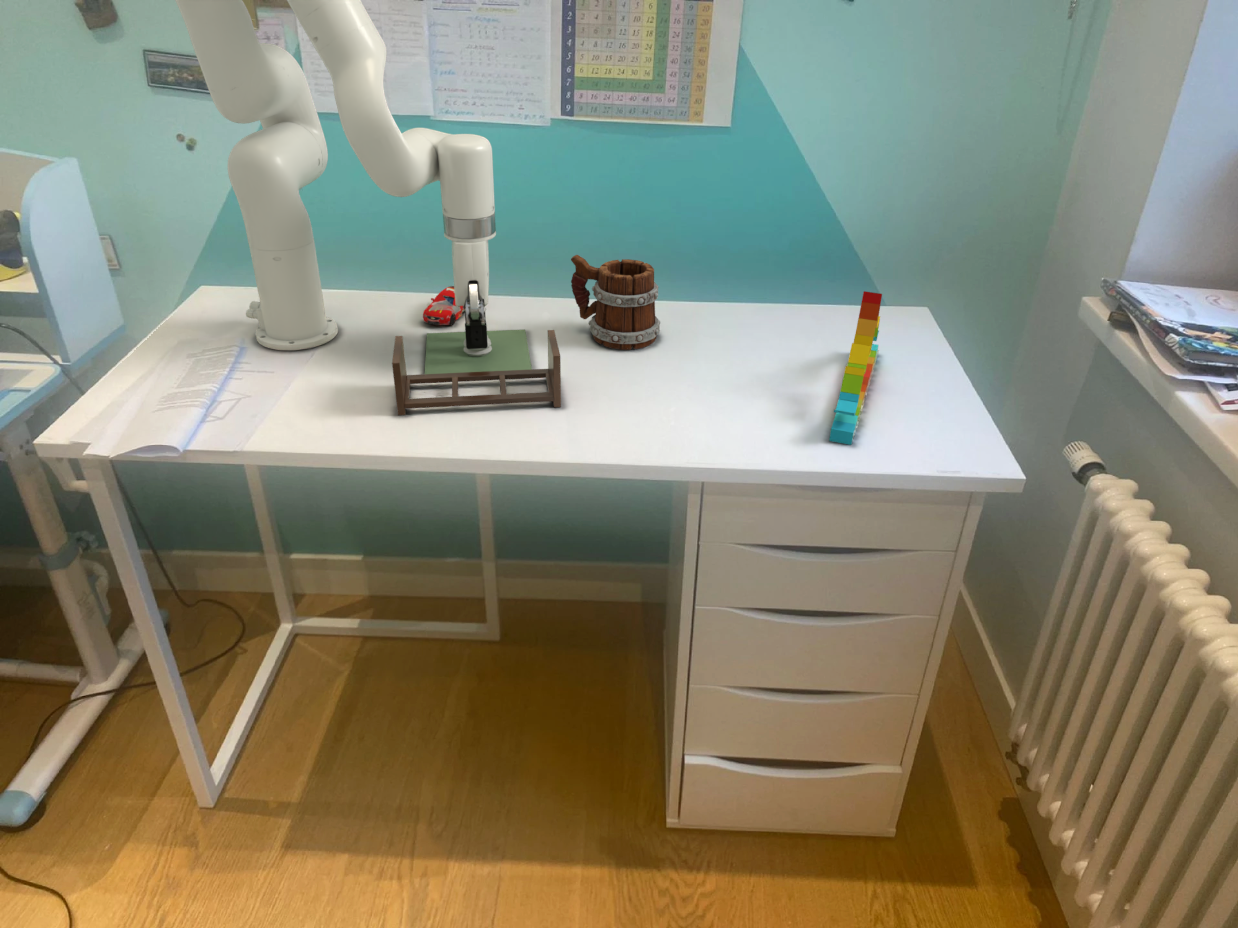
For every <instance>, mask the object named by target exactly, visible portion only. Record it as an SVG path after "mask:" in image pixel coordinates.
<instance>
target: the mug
mask: <svg viewBox="0 0 1238 928" xmlns="http://www.w3.org/2000/svg"><path fill="white" fill-rule="evenodd" d="M570 261H571V263H572V264H573V265H574V267H575V271H574V272H573V273H572V276H571V280H570V283H571V285H570V286H571V291H572V294H573V297H574V300H575V303H576V305H577V307H578V308H579V317H580V319H583V320H587V319H589V318H590V317H591V316H592V315H593V316H592V317H591V319H590V320H589V321H588V325H589V330H590V332H591V334H592V337H593V339H594V341H595V342H596V343H597V344H599V345H601V346H602V345H603V346H604V347H606V348H608V349H609V348H610V349H612V350H621V351H631V350H632V348H633V349H634V350H639V349H644V348H647V347H649V346H651V345H653V343H654V342H656V340H657V337H658V335H660V329H661V328H660V326H661V320H660V319H659V318H658V317H657V316H656V300H658V299H659V298H658V297H659V288H660V287H659V285H658V284H657V283H656V281H655V268H654V267H653V266H652V264H649V263H648V262H644V261H642V260H637V259H627V258H624V259H621V261H620V260H619V259H613V260H609V261H605V262H604V263H603V264H601V265H600V266H599V267H595V266H592V265H591V264H589V262H588V261H587V260H586V259H585V258H584V257H582V256H580V255H579V254H575V255H573V256H572V257H571V258H570ZM589 280H591V281H592V280H593V281H595V283H594V285H593V286H592V287H591V291H592V292H593V294H592V295H593V297H594V298H595V300H594V301H593V302H592V303H591V304H590V296H591V292H590V290H589V289H587V287H586V285H587V283H588V281H589ZM589 304H590V305H589Z"/></svg>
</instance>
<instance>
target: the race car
mask: <svg viewBox="0 0 1238 928" xmlns="http://www.w3.org/2000/svg"><path fill="white" fill-rule="evenodd" d="M430 300H431V303H430V304H429V305H427V307H426V308H425V309H424V310H423V312H422V320H423V321H424V323H426V324H429V325H434V326H454V324H455V322H456V321H457V320H458V319H459V318H461V317H462V316H463V315H465V309H464V306H460V307H457V306H456V304H455V290H454V285H450V286H449V285H448V286H447V287H445V288H444V289H442V290H441V291H439V293H437V295H436V296H435V297H434V298H433V297H431V298H430Z"/></svg>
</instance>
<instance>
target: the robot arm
mask: <svg viewBox="0 0 1238 928" xmlns="http://www.w3.org/2000/svg"><path fill="white" fill-rule="evenodd" d="M174 1H175V4H176V6H177V7H178V10H179V12H180V15H181V17H182V19H183V22H184V24H185V27H186V30H187V33H188V36H189V39H190V42H191V46H192V48H193V51H194V53H195V56H196V59H197V61H198V65H199V67H200V70H201V73H202V76H203V78H204V81H205V84H206V87H207V89H208V92H209V94H210V97H211V100H212V102H213V104H214V106H215V108H216V109H217V112H219V113H220V114H221V115H222V117H223V118H224V119H226V120H228V121H229V122H231V123H234V124H240V125H241V124H242V125H243V124H252V123H255V122H258V121H259V122H260V125H261V126H262V129H259V130H257V131H254V132H251V133H250V134H248V135H245V136H244V137H242V138H241V139H240V140H238V141H237V142H236V143H235V144H234V146H233V147H232V148H231V150H230V153H229V155H228V159H227V176H228V179H229V182H230V184H231V188H232V190H233V192H234V195H235V198H236V200H237V202H238V205H239V208H240V212H241V216H242V220H243V224H244V229H245V233H246V239H247V243H248V248H249V252H250V256H251V263H252V268H253V273H254V279H255V284H256V289H257V295H258V299H259V301H256V300H253V301H250V303H249V308H247V310H246V311H245V316H246V318H249V319H253V320H257V321H258V327H257V328H256V330H255V338H256V341H257V343H258V344H259V345H261V346H262V347H265V348H268V349H271V350H277V351H300V350H307V349H312V348H317V347H319V346H321V345H324V344H326V343H328V342H330V341H332V340H333V339H334V338H335V337H336V336H337V335H338V332H339V328H338V323H337V322H336V320H335V319H333V318H331V317H329V316H327V315H326V308H325V302H324V296H323V287H322V281H321V275H320V269H319V262H318V257H317V249H316V243H315V242H316V241H315V238H314V231H313V226H312V223H311V218H310V215H309V213H308V210H307V208H306V205H305V203H304V202H303V200H302V197H301V194H300V190H301V189H303V188H304V187H306V186H308V185H310V184H312V183H313V182H315V181H317V180H318V179H319V178H320V177H321V176H322V175H323V173H324V172H325V170H326V168H327V165H328V161H329V152H328V145H327V141H326V136H325V133H324V130H323V126H322V123H321V120H320V117H319V114H318V111H317V107H316V105H315V102H314V98H313V95H312V92H311V88H310V86H309V83H308V80H307V77H306V75H305V73H304V71H303V69H302V67H301V65H300V64H299V62H298V61H297V59H296V58H295V57H294V56H293V55H292V54H291V53H290V52H288V51H287V50H286V49H285V48H283V47H281V46H279V45H276V44H273V43H267V42H265V43H264V42H262V43H260V41H259V38H258V36H257V33H256V29H255V26H254V24H253V20H252V16H251V14H250V12H249V10H248V8H247V6H246V4H245V2H244V1H243V0H174ZM286 2H287V3H288V5H289V7H290V8H291V10H292V11H293V14H294V15H295V17H296V19H297V20H298V22H299V24H300V25H301V27H302V29H303V31H304V33H305V34H306V35H307V37H308V39H309V41H310V42H311V45H313V47H314V49H315V51H316V52H317V54H318V56H319V58H320V59H321V61H322V63H323V64H324V66H325V68H326V70H327V71H328V73H329V76H330V78H331V81H332V86H333V88H332V89H333V96H334V101H335V105H336V109H337V113H338V116H339V121H340V124H341V126H342V130H343V133H344V136H345V137H346V140H347V142H348V143H349V145H350V147H351V149H352V150H353V152H354V155H355V156H356V157H357V159H358V161H359V162H360V164H361V165H362V168H363V169H364V170H365V173H366V174H367V175H368V176H369V178H370V179H371V180H372V182H373V183H374V184H375V185H376V186H377V188H379V189H380V190H381V191H382V192H384V193H385V194H387V195H389V196H392V197H395V198H405V197H410V196H412V195H414V194H416V193H418V192H419V191H420V190H422V189H423V188H425V187H426V186H428V185H430V184H433V183H435V182H438V181H439V184H440V197H441V210H442V223H443V237H444V238H446V239H447V240H449V241H451V261H452V262H451V263H452V275H453V286H454V290H455V304H456V306H457V307H460V306H464V309H466V312H465V313H464V321H465V322H464V332H465V334H466V347H467V349H483V348H487V347H488V343H487V331H488V328H487V326H488V325H487V317H486V311H485V312H484V307H485V308H486V306H487V305H488V304H489V292H490V255H489V253H490V252H489V241H490V240H492V239H494V238H495V237H496V235H497V228H496V227H497V225H496V205H495V184H494V183H495V179H494V161H493V160H494V159H493V147H492V144H491V142H490V140H489V139H487V138H486V137H484V136H482V135H479V134H474V133H455V134H453V133H449V132H443V131H439V130H435V129H432V128H427V127H413V128H409V129H407V130H405V131H404V132H401V130H400V128H399V126H398V124H397V123H396V121H395V118H394V117H393V115H392V112H391V110H390V108H389V105H388V101H387V98H386V94H385V89H384V76H385V75H384V74H385V69H386V63H387V56H388V55H387V53H388V50H387V46H386V43H385V41H384V39H383V38H382V36H381V35H380V32H379V31H378V29H377V27H376V25H375V24H374V22H373V20H372V19H371V16H370V15H369V13H368V11H367V9H366V7H365V5H364V4H363V2H362V0H286ZM478 301H479V303H478ZM480 302H481V303H480ZM468 303H469V304H468ZM479 308H480V309H481V313H480V312H479ZM469 309H471V312H469ZM484 317H485V318H484Z"/></svg>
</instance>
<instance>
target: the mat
mask: <svg viewBox="0 0 1238 928" xmlns="http://www.w3.org/2000/svg"><path fill="white" fill-rule="evenodd" d="M487 335H488V338H489V339H490V341H491V345H490V346H491V347H492V350H491V351H490V353H489V354H487V355H485V356H480V357H474V356H469V355H468V354H466V353H465V352H464V347H465V346H464V341H465V339H466V334H465V331H451V332H449V331H448V332H447V331H446V332H427V333H426V344H425V359H424V360H425V362H424V374H441V373H463V372H486V371H508V370H530V369H533V367H532V361H531V357H530V356H531V355H530V350H529V344H528V338H527V332H526V329H503V330H502V329H501V330H487Z"/></svg>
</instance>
